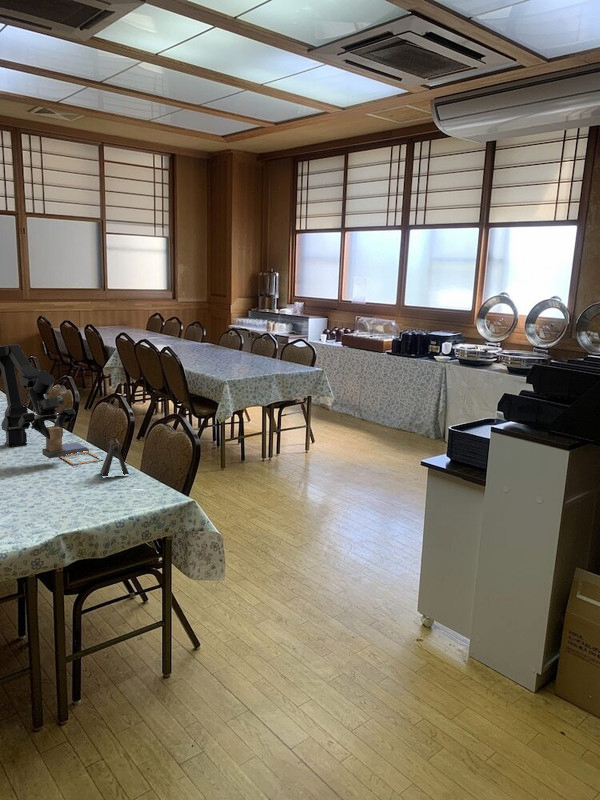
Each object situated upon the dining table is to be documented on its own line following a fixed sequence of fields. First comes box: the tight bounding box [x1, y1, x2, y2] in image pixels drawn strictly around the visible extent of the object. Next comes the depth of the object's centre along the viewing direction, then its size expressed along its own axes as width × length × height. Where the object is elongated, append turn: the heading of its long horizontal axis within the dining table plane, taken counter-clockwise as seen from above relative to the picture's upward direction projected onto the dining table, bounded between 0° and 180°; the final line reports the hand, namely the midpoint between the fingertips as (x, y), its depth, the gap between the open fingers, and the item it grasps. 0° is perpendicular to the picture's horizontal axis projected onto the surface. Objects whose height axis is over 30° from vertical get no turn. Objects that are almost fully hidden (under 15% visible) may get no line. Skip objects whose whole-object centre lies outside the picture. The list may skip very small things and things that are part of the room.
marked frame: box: [59, 450, 98, 466], centre depth 224 cm, size 12×13×1 cm
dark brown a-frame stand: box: [100, 438, 130, 477], centre depth 207 cm, size 9×6×12 cm, turn 112°
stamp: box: [41, 425, 66, 459], centre depth 214 cm, size 6×6×10 cm
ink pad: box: [62, 442, 90, 455], centre depth 234 cm, size 10×10×2 cm
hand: (55, 437), depth 213 cm, fingers closed on stamp, 4 cm apart
